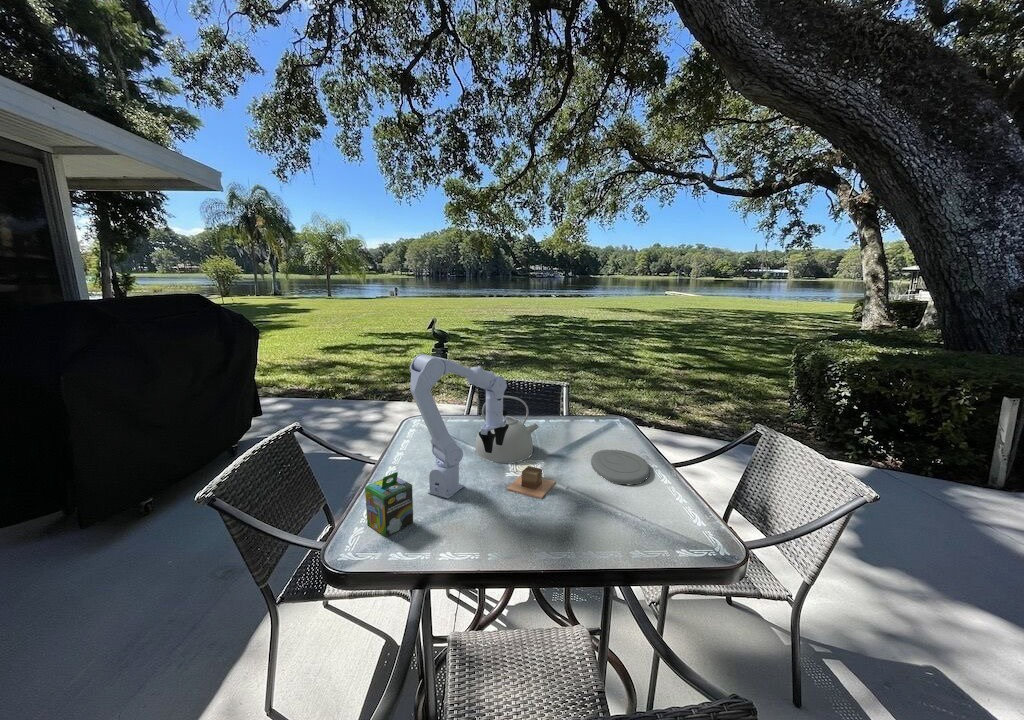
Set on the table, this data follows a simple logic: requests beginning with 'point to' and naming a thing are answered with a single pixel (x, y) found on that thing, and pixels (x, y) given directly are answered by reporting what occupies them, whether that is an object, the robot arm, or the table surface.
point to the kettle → (509, 440)
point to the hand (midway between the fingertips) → (494, 448)
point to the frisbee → (620, 466)
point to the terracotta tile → (537, 493)
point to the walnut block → (531, 477)
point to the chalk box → (389, 504)
